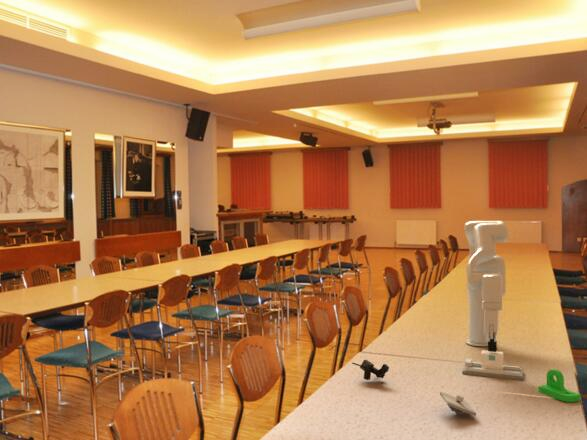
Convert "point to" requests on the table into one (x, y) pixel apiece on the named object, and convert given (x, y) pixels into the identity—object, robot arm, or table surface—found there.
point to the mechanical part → (558, 387)
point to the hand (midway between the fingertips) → (492, 351)
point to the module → (492, 360)
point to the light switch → (457, 404)
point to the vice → (372, 369)
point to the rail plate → (492, 371)
